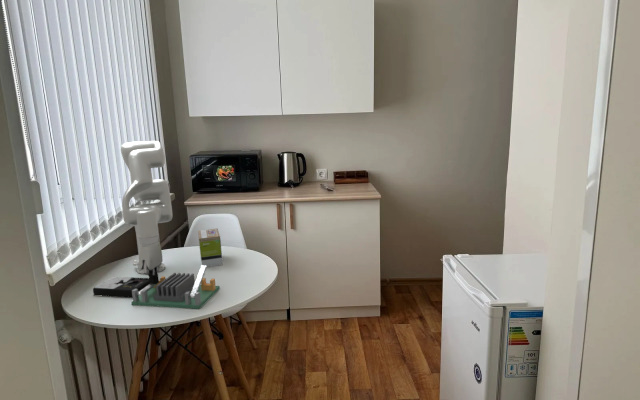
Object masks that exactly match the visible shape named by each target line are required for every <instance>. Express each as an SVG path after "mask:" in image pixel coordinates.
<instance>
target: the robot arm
mask: <svg viewBox="0 0 640 400" xmlns="http://www.w3.org/2000/svg"><path fill="white" fill-rule="evenodd" d="M120 152H121V157H122V159H123V161H124V163H125V165H126V167H127V169H128V171H129V174H130V175H129V176H130V185H129V187H128V188H127V189H126V191H125V192H124V193H123V196H122V199H121V208H122V217H123V222H124V224H125V225H127V226H132V227H133V226H134V229H135V235H136V244H137V252H138V259H134V260H133V262H132V265H133V266H137V268H136V272H137V273H138V274H141V275H148V278H149V283H150V284H157V283H159V279H160V278H159V272H162V271H163V270H165V269H166V264H165V263H163V251H162V246H161V242H160V233H159V231H160V230H159V225H158V224H162V223H168V222H170V221H172V219H173V207H172V199H171V192H170V187H169V184H168V182H167V180H166V179H163V178H160V179H159V178H158V179H157V178H156V179H153V173H152V169H155V168H163V167H164V166H165V163H166V158H165V157H166V156H165V152H164V147H163V146H162V143H161V142H160V141H158V140H148V141H130V142H125V143H122V145H121V147H120ZM132 198H134V200H135V201H136V202H147V201H159V202H152V203H151V202H150V203H141V204H140V203H139V204H137V205H135V206H130V201H131V200H132Z"/></svg>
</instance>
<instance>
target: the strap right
mask: <svg viewBox="0 0 640 400" xmlns="http://www.w3.org/2000/svg"><path fill="white" fill-rule="evenodd" d="M207 268H208V267H207V266H206V265H202V264H201V265H200V268H199V271H198V274H197V276H196V279H195V284H194V286H193V289H192V291H191V294H190V296H189V298H192V299H195V293H196V292H198V290H199V287H200V285H201V282H202V279H203V278H204V276H205V275H206V271H207Z"/></svg>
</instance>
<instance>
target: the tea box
mask: <svg viewBox="0 0 640 400" xmlns="http://www.w3.org/2000/svg"><path fill="white" fill-rule="evenodd" d="M197 232H198V233H197V234H198V245H199V246H198V247H199V253H200V254H199V255H200V261H201V265H206V266H207V268H208V267H216V266H222V265H223V253H222V252H223V251H222V242H221V241H222V240H221V235H220V233H219V229H218V228H210V229H209V228H208V229H202V230H198V231H197Z"/></svg>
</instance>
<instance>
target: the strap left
mask: <svg viewBox="0 0 640 400" xmlns="http://www.w3.org/2000/svg"><path fill="white" fill-rule="evenodd" d="M158 279H159V283H160V282H161V281H160V278H158ZM159 283H157V284H159ZM157 284H149V285H148V286H146V287H145V288H143V289H142V290H144V289H147V292H148V291H149V290H150V289H152V288H153V287H155V286H156V285H157ZM142 290H140V291H139V292H137V293H136V295H138V296H142V294H141V291H142Z"/></svg>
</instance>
